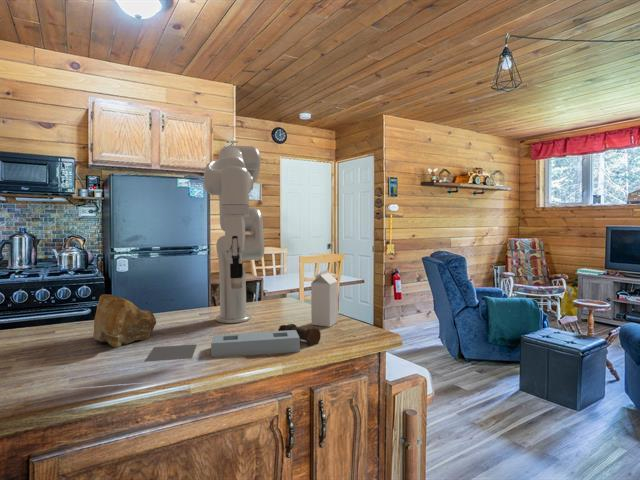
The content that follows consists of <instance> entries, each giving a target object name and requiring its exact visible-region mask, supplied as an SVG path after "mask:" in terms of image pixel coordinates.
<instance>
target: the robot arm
mask: <svg viewBox="0 0 640 480" xmlns="http://www.w3.org/2000/svg"><path fill="white" fill-rule="evenodd" d="M261 164H262V160H261V153H260V151H259V150H258V149H257V147H255V146H254V145H253V146H250V145H226V146H223V147H222V148H221V149H220V151H219V152H218V158H217V159H215V160H213V161H210V162H209V163H207V164H206V165H205V167H204V173H203V187H204V190H205V192H206V193H207V194H209V195H211V196H218V202H219V203H218V205H219V208H218V209H219V224H220V225H219V226H220V228H221V231H223V232H224V235H221V236H219V237H218V238H217V240H216V255H217V259H218V260H217V261H218V270H219V271H218V272H219V277H218V278H219V311H220V314H219V315H216V317H215V320H216V321H217V322H218V323H221V324H237V323H244V322H246V321H250V320H251V314H250V313H248V312H247V286H246V284H247V283H246V282H247V279H246V278H247V277H246V270H245V269H244V267H243V265H244V264H243V261H254V260H255V261H258V260H261V259H262V258H263V257H264V255H265V235H264V221H263V214H262V212H261V210H260V209H259V208H256V207H250V196H249V194H251V192H252V190H253V189H254V183H256V182H258V178H259V176H260V169H261V166H262V165H261ZM246 233H249V234H246ZM241 256H242V264H241ZM231 278H242V288H240V289H232V288H231Z"/></svg>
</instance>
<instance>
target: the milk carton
mask: <svg viewBox="0 0 640 480" xmlns="http://www.w3.org/2000/svg"><path fill="white" fill-rule="evenodd" d="M310 284H311V285H310V288H311V289H310V291H311V292H310V295H311V296H310V299H311V300H310V301H311V310H310V311H311V326H320V327H329V328H330V327H333V326H334V325H336V324H337V323H338V322H339V321H338V319H339V318H338V316H339V314H338V312H339V311H338V280H337V279H336V278H335V277H334V276H333V275H332V274H331V273H330V270H329V269H326V270H322V271H320V272H319V273H318V274H317V275H315V279H313V281H312V282H311V283H310Z"/></svg>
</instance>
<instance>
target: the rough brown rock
mask: <svg viewBox="0 0 640 480" xmlns="http://www.w3.org/2000/svg"><path fill="white" fill-rule="evenodd" d="M93 322H94V323H93V335H92V336H93V339H94V340H95V341H97V342H100V343H107V344H109V346H110V347H112V348H114V349H116V348H117V349H118V348H120V347H122V345H128V344H131V343H133V342H135V341H147V340H149V339H150V338H151V336H152V332H153V330H154V328H155V327H156V325H157V319H156V317H155V315H154V312H152V311H150V310H146V309H145V310H144V309H139V307H138V306H136V305H135V304H134V303H133V302H131V301H130V300H128V299H125V298H123V297H120V296H116V295H113V294H106V293H105V294H101V295H100V296H99V299H98V303H97V306H96V312H95V315H94V319H93Z"/></svg>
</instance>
